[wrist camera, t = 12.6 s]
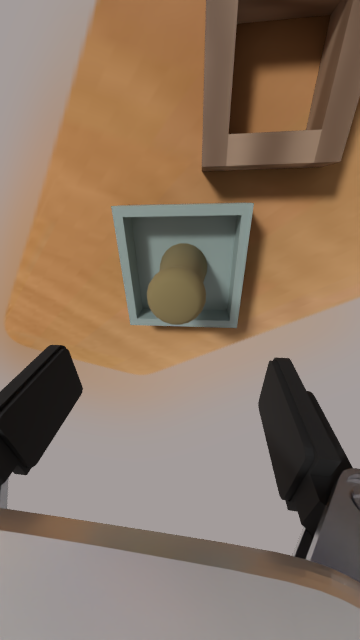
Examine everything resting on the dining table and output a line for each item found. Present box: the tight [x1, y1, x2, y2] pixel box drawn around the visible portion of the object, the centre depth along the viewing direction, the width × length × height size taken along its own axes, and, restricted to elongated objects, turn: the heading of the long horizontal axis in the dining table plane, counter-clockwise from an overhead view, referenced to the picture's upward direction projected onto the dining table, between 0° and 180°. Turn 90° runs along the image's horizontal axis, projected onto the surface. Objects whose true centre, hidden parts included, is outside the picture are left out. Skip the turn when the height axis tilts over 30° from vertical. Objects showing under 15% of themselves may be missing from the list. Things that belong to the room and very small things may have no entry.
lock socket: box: [202, 0, 360, 171], centre depth 17 cm, size 12×12×4 cm
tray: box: [111, 203, 254, 328], centre depth 26 cm, size 14×14×4 cm
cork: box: [147, 243, 207, 325], centre depth 22 cm, size 6×6×11 cm
